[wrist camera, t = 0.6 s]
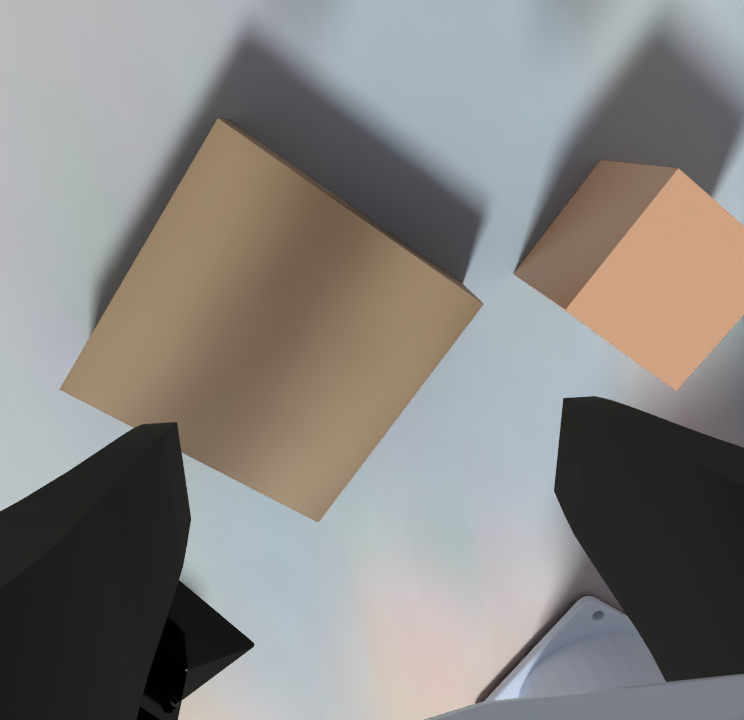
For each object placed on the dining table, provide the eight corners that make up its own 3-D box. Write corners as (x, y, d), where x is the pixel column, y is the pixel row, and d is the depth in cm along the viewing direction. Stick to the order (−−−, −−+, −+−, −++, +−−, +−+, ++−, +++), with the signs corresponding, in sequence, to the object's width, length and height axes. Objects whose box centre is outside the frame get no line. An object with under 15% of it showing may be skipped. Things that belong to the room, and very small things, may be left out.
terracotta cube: (691, 237, 21) (787, 265, 17) (605, 341, 22) (676, 390, 18) (599, 159, 20) (678, 168, 16) (512, 273, 21) (565, 309, 17)
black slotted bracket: (177, 521, 24) (149, 608, 19) (303, 627, 26) (303, 725, 22) (-43, 695, 25) (-113, 810, 21) (94, 779, 28) (57, 897, 24)
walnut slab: (459, 281, 21) (483, 303, 18) (316, 475, 23) (318, 522, 20) (229, 120, 19) (217, 118, 16) (92, 354, 21) (59, 389, 18)
